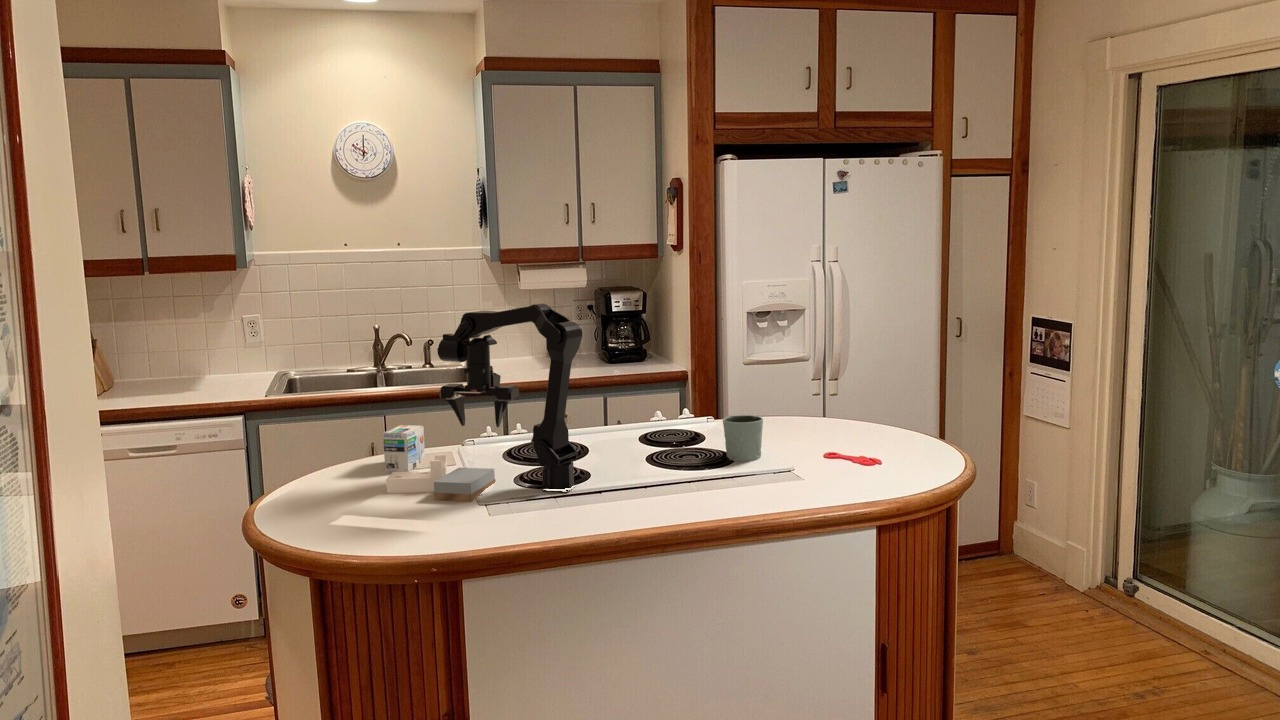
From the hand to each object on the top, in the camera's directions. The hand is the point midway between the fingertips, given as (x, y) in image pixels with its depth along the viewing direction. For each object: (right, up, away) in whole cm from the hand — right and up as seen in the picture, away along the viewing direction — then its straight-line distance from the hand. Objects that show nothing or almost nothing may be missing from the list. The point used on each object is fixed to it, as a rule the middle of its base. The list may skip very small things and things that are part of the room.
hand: (480, 426), depth 239 cm
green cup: (+65, -11, +11) cm, 67 cm away
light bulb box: (-21, -12, +13) cm, 28 cm away
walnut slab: (-2, -15, -11) cm, 19 cm away
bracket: (-14, -15, -6) cm, 21 cm away
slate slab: (-2, -13, -12) cm, 18 cm away
